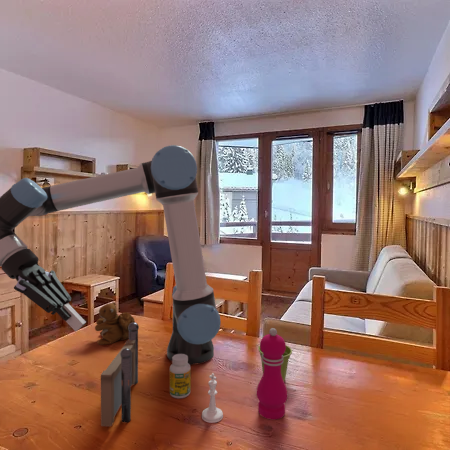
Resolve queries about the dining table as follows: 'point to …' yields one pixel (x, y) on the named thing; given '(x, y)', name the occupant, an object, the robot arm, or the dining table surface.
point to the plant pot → (285, 360)
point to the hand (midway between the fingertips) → (80, 326)
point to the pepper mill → (272, 377)
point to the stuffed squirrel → (112, 324)
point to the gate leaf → (114, 385)
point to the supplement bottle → (180, 376)
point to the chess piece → (212, 404)
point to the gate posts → (128, 374)
